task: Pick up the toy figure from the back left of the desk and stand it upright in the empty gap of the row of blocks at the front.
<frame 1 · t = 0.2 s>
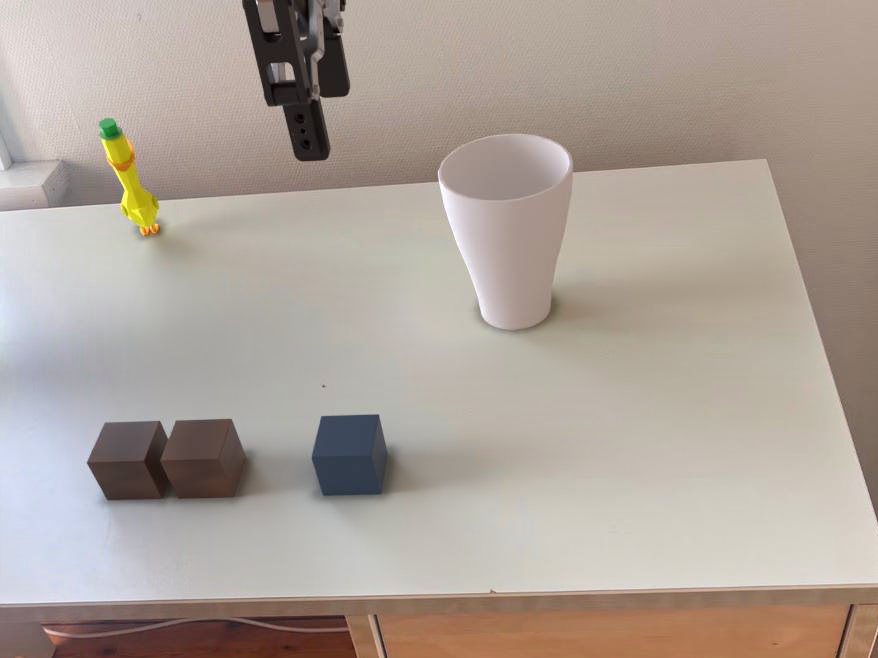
hand: (325, 125, 63), 22 cm above the table, tool pointing down, fingers open, 8 cm apart
block a: (144, 482, 75), on the table
block b: (214, 481, 75), on the table
block c: (356, 477, 74), on the table
cup: (516, 314, 85), on the table
toy figure: (152, 234, 100), on the table
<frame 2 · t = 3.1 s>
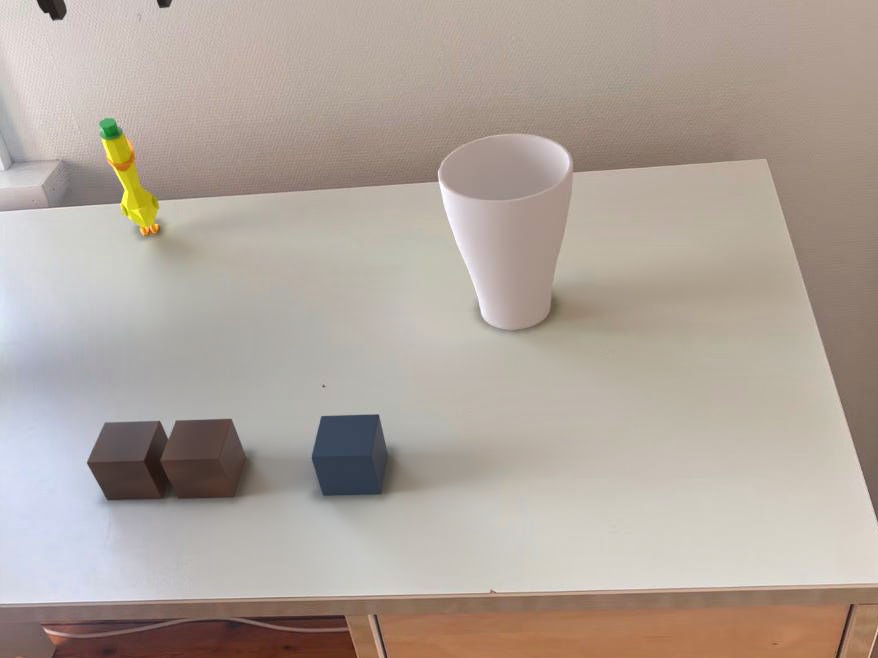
hand: (113, 10, 76), 23 cm above the table, tool pointing down, fingers open, 8 cm apart
nothing on the table moved.
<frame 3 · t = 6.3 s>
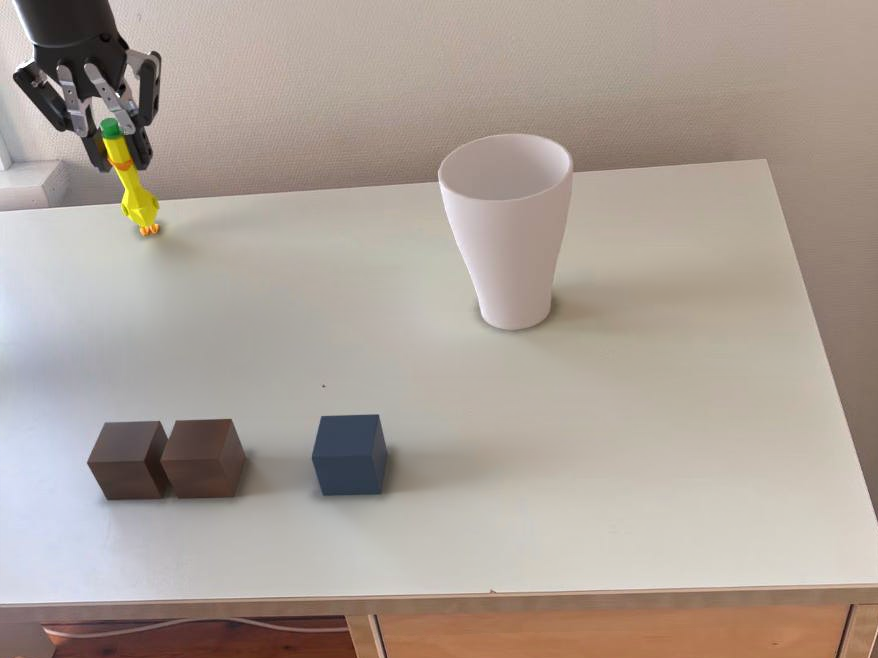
hand: (125, 166, 94), 7 cm above the table, tool pointing down, fingers closed on toy figure, 3 cm apart
toy figure: (152, 234, 100), on the table, touching gripper
everything else where it was.
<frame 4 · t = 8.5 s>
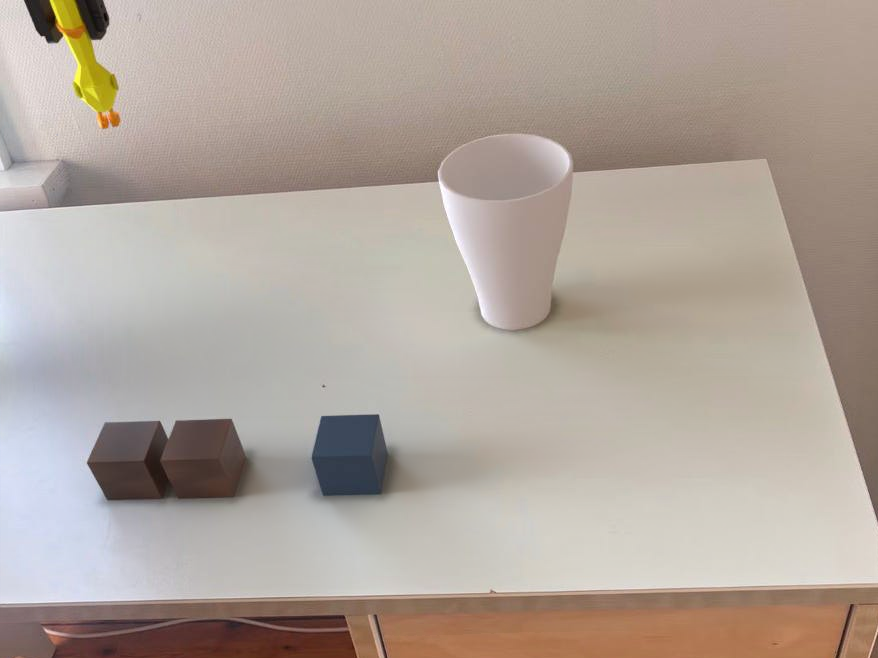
hand: (77, 37, 80), 21 cm above the table, tool pointing down, fingers closed on toy figure, 3 cm apart
toy figure: (110, 124, 86), point 14 cm above the table, touching gripper
everything else where it was.
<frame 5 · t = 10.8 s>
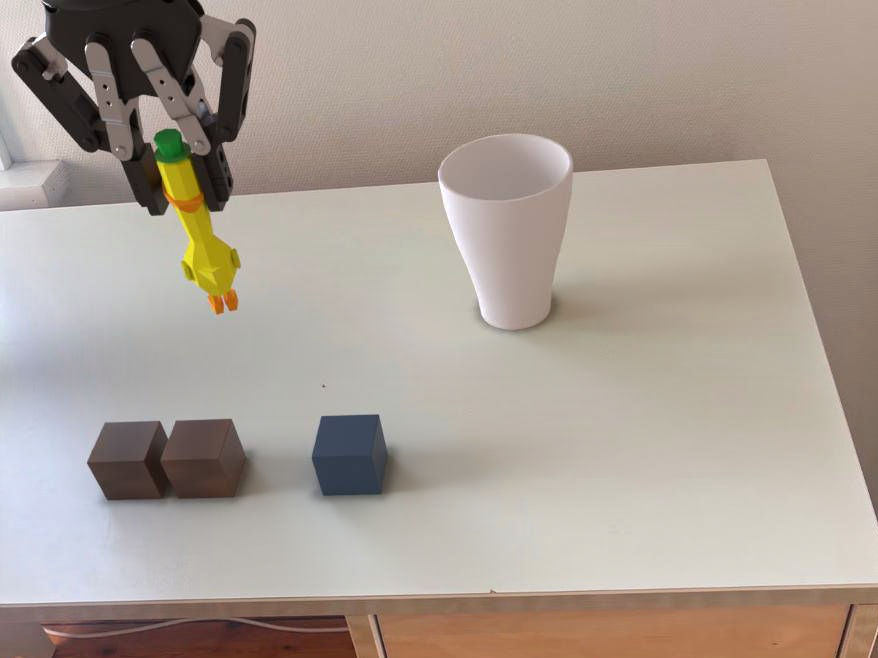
hand: (189, 205, 60), 21 cm above the table, tool pointing down, fingers closed on toy figure, 3 cm apart
toy figure: (225, 305, 65), point 14 cm above the table, touching gripper
everything else where it was.
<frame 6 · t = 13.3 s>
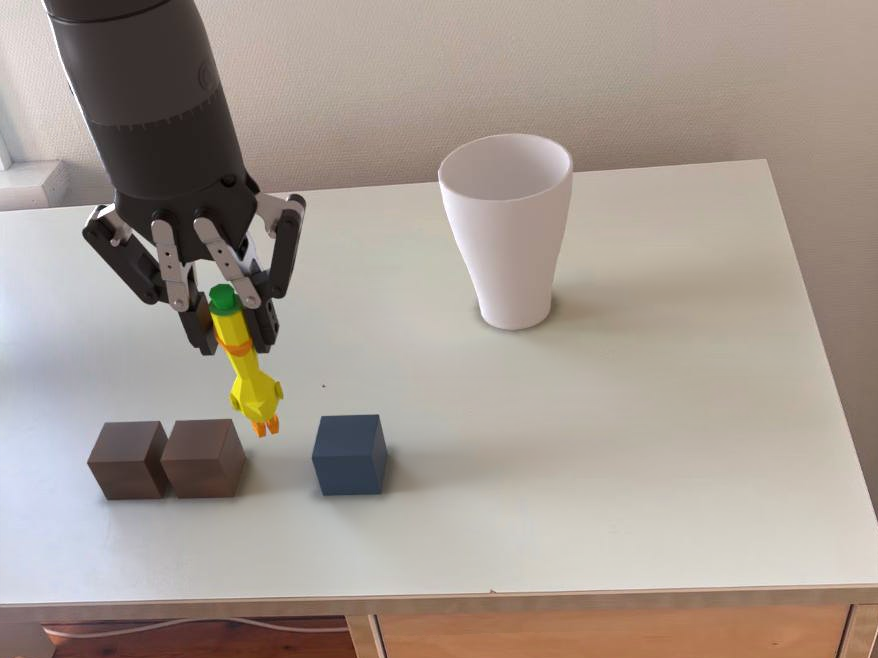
hand: (238, 346, 65), 13 cm above the table, tool pointing down, fingers closed on toy figure, 3 cm apart
toy figure: (267, 427, 70), point 5 cm above the table, touching gripper
everything else where it was.
when the fingers open (7 cm above the table, at t = 15.2 s): toy figure stays where it is, on the table.
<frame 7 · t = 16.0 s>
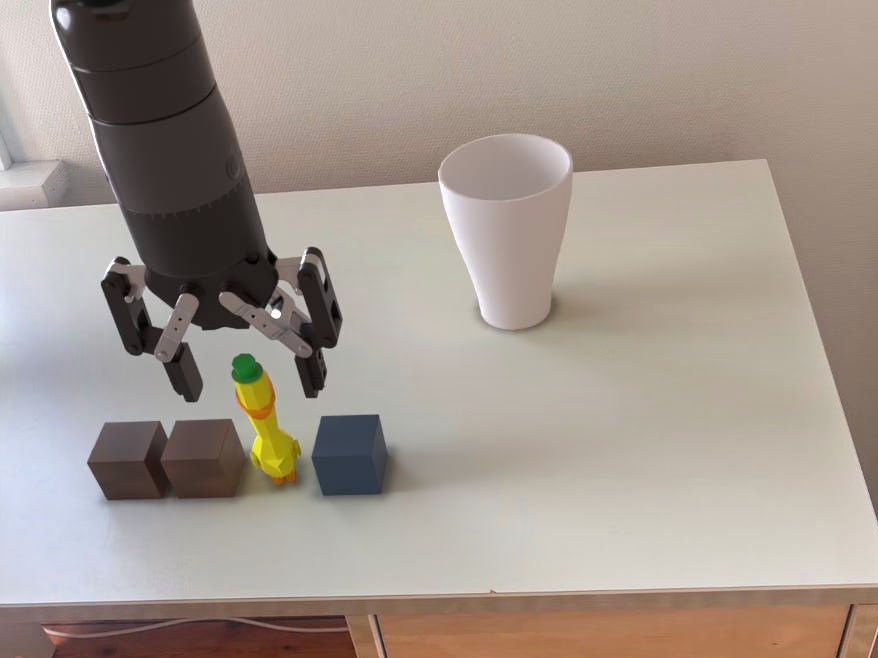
hand: (254, 392, 68), 9 cm above the table, tool pointing down, fingers open, 8 cm apart
toy figure: (285, 479, 74), on the table
everything else where it was.
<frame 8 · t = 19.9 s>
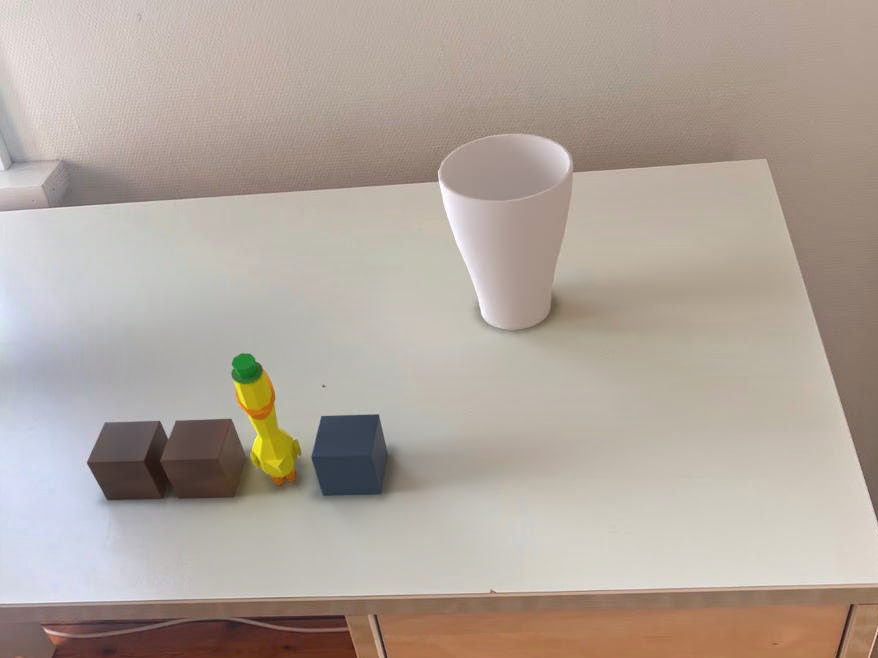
nothing on the table moved.
at the end: toy figure 0.2 cm from the target spot on the table beside the block b, on the table; toy figure tilted 0°; block c moved 0.0 cm from its start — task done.
